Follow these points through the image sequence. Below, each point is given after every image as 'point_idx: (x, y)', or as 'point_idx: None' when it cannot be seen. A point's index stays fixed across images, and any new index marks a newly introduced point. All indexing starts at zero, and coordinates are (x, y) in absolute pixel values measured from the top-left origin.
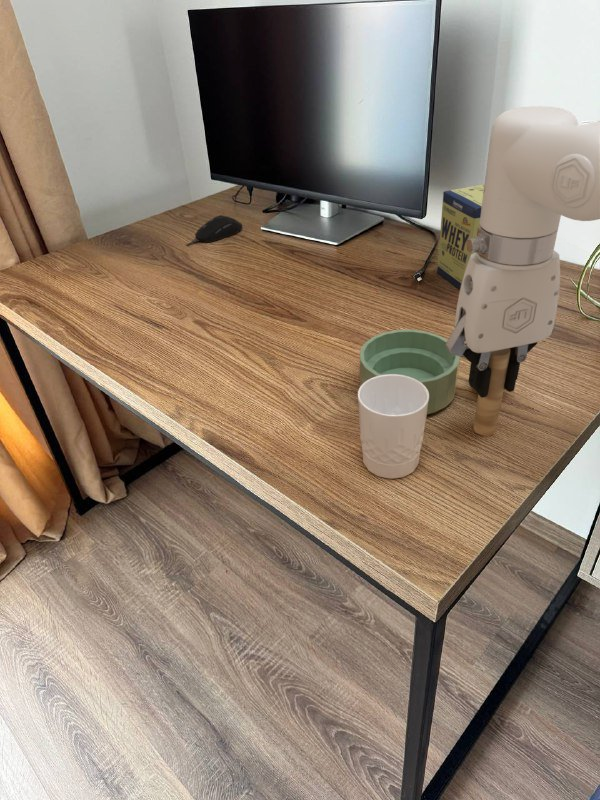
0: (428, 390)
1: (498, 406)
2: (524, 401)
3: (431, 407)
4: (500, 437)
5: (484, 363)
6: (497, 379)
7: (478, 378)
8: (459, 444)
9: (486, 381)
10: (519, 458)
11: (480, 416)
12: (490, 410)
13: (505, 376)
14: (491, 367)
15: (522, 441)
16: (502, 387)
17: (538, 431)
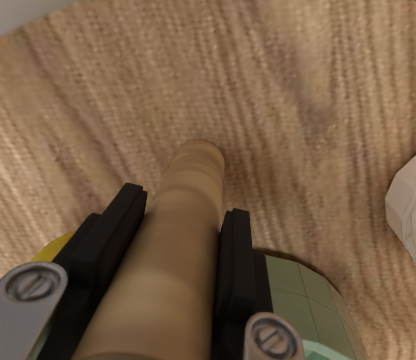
0: (293, 311)
1: (181, 173)
2: (59, 186)
3: (272, 267)
4: (187, 123)
5: (260, 349)
6: (186, 241)
7: (259, 282)
8: (284, 154)
9: (245, 253)
10: (201, 37)
11: (222, 182)
12: (207, 175)
13: (142, 238)
14: (206, 306)
15: (151, 84)
16: (163, 209)
17: (94, 91)
